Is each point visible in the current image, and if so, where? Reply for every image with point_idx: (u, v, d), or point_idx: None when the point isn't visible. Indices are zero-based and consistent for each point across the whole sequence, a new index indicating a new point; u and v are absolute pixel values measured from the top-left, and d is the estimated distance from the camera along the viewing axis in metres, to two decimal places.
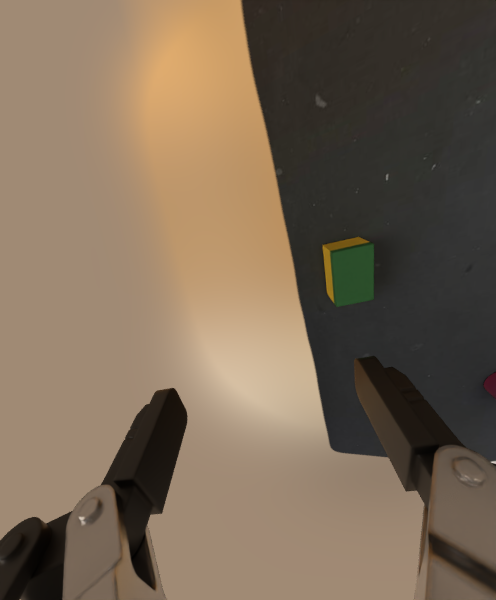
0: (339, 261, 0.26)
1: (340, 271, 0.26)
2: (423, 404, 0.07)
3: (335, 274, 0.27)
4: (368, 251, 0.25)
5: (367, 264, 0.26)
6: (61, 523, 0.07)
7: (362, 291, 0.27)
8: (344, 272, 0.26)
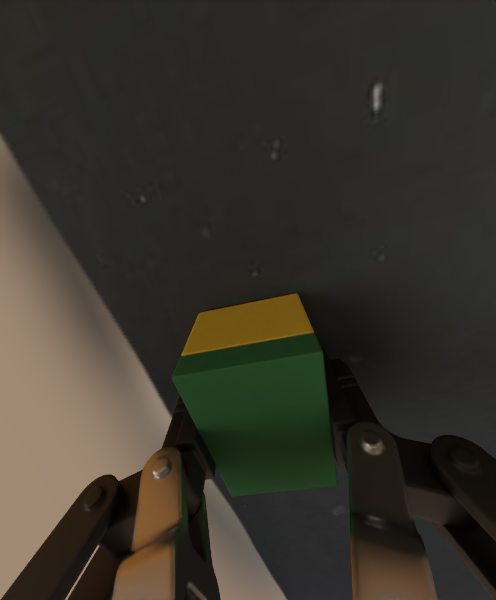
0: (206, 400, 0.07)
1: (217, 425, 0.08)
2: (356, 390, 0.08)
3: (204, 431, 0.08)
4: (304, 375, 0.07)
5: (306, 409, 0.07)
6: (130, 481, 0.07)
7: (300, 470, 0.09)
8: (231, 428, 0.08)
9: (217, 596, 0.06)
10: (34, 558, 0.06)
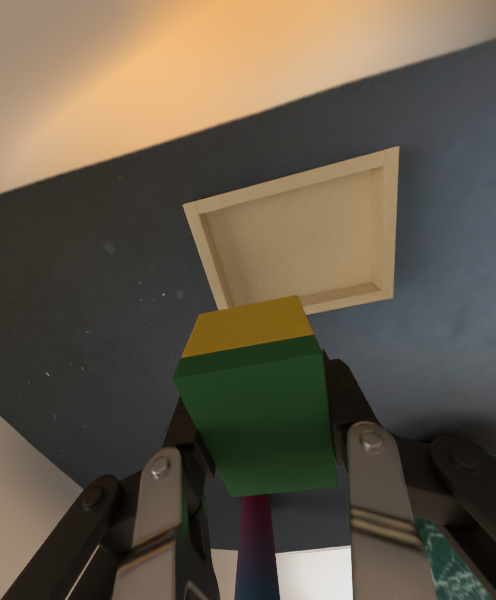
0: (206, 402, 0.07)
1: (218, 427, 0.08)
2: (356, 390, 0.08)
3: (204, 433, 0.08)
4: (304, 377, 0.07)
5: (306, 411, 0.07)
6: (130, 481, 0.07)
7: (300, 471, 0.09)
8: (232, 430, 0.08)
9: (217, 596, 0.06)
10: (34, 558, 0.06)
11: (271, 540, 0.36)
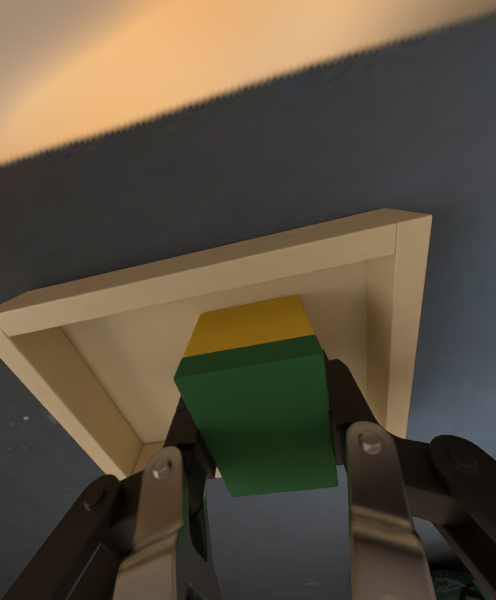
0: (207, 402, 0.07)
1: (219, 426, 0.08)
2: (355, 390, 0.08)
3: (205, 432, 0.08)
4: (305, 377, 0.07)
5: (307, 411, 0.07)
6: (131, 481, 0.07)
7: (301, 471, 0.09)
8: (232, 430, 0.08)
9: (218, 596, 0.06)
10: (35, 557, 0.06)
11: None
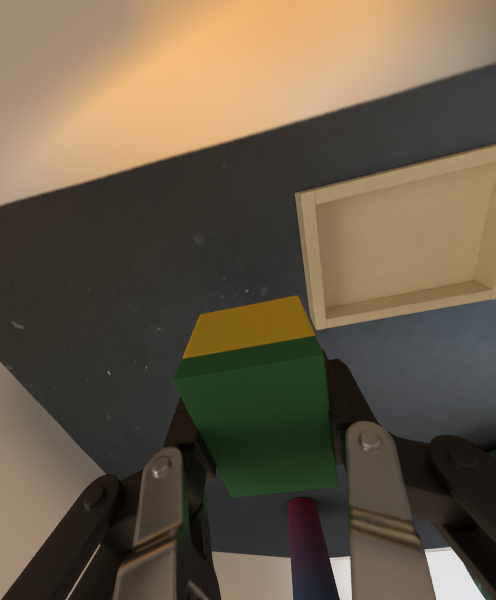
0: (207, 403, 0.07)
1: (219, 428, 0.08)
2: (355, 390, 0.08)
3: (205, 434, 0.08)
4: (305, 378, 0.07)
5: (307, 412, 0.07)
6: (132, 481, 0.07)
7: (301, 471, 0.09)
8: (232, 431, 0.08)
9: (218, 596, 0.06)
10: (36, 557, 0.06)
11: (325, 548, 0.35)
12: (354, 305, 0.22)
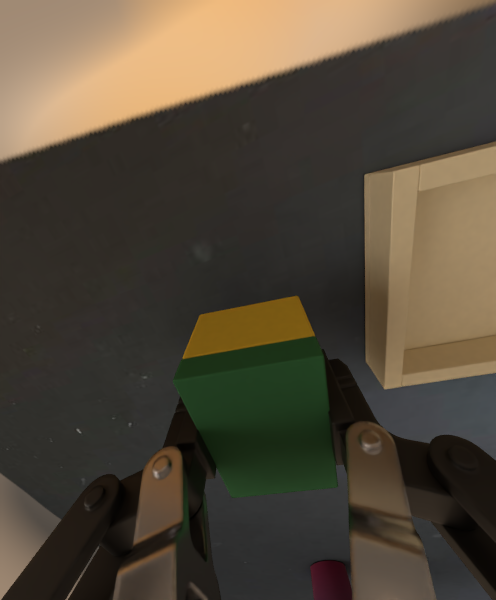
0: (207, 403, 0.07)
1: (218, 428, 0.08)
2: (355, 390, 0.08)
3: (205, 434, 0.08)
4: (305, 379, 0.07)
5: (307, 412, 0.07)
6: (131, 481, 0.07)
7: (301, 472, 0.09)
8: (232, 431, 0.08)
9: (218, 596, 0.06)
10: (35, 557, 0.06)
11: None
12: (439, 349, 0.14)
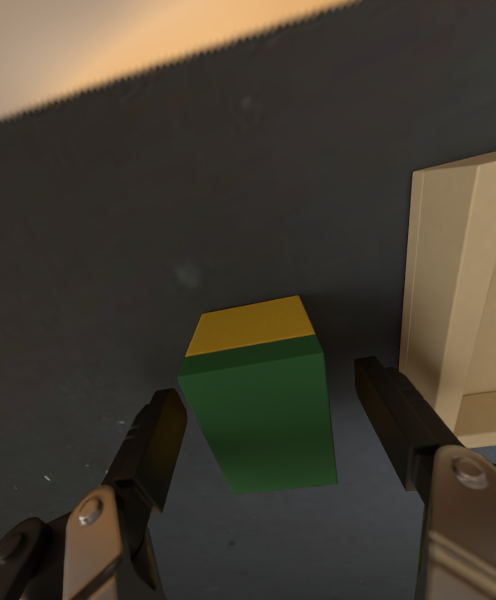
0: (209, 400, 0.07)
1: (221, 424, 0.08)
2: (423, 404, 0.07)
3: (207, 430, 0.08)
4: (306, 376, 0.07)
5: (308, 409, 0.07)
6: (61, 523, 0.07)
7: (301, 468, 0.09)
8: (234, 427, 0.08)
9: None
10: None
11: None
12: None
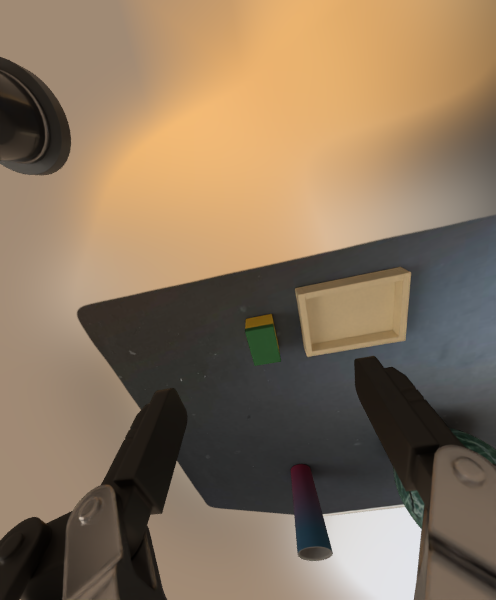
0: (251, 337, 0.36)
1: (253, 343, 0.36)
2: (423, 404, 0.07)
3: (250, 345, 0.36)
4: (270, 331, 0.35)
5: (271, 339, 0.36)
6: (61, 523, 0.07)
7: (271, 356, 0.37)
8: (256, 344, 0.36)
9: None
10: None
11: (316, 494, 0.52)
12: (328, 342, 0.39)
